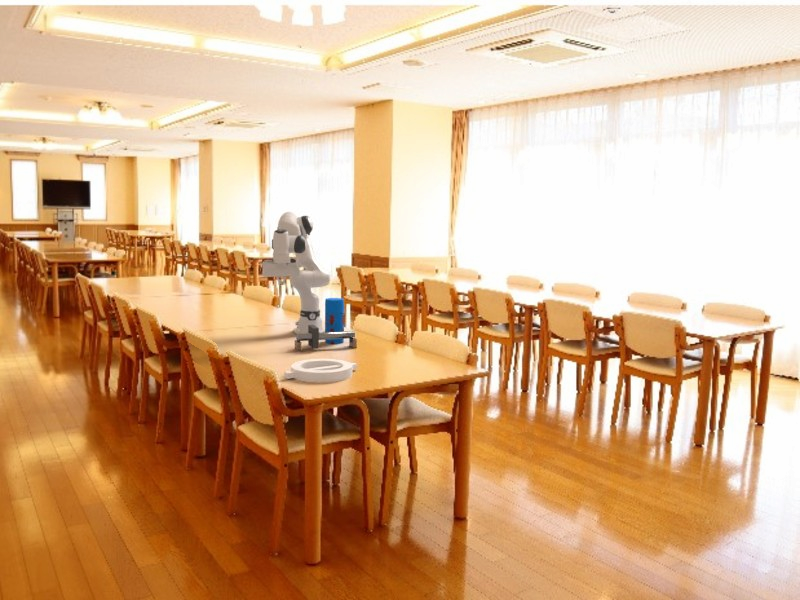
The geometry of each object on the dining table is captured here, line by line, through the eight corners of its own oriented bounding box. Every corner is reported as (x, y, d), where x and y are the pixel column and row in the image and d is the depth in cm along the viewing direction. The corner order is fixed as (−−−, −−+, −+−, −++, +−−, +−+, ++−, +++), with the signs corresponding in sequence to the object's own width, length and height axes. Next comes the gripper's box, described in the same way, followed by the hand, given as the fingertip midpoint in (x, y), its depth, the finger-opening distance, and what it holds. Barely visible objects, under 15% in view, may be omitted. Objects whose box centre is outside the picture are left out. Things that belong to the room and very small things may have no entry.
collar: (308, 344, 367) (308, 325, 366) (313, 344, 368) (313, 324, 367) (313, 348, 357) (313, 328, 355) (318, 348, 358) (318, 328, 357)
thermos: (340, 344, 377) (340, 300, 374) (322, 343, 379) (322, 299, 376) (346, 341, 388) (346, 298, 385) (328, 340, 390) (328, 297, 387)
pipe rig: (294, 349, 362) (294, 332, 361) (352, 345, 375) (352, 329, 373) (297, 351, 356) (297, 334, 355) (356, 348, 368) (356, 331, 367)
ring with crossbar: (282, 381, 295) (282, 370, 295) (302, 366, 323) (302, 357, 322) (343, 385, 290) (343, 374, 290) (358, 370, 318) (358, 360, 317)
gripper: (263, 260, 357) (263, 285, 359) (300, 259, 365) (300, 284, 367) (260, 259, 363) (261, 284, 365) (297, 259, 371) (298, 283, 372)
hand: (281, 284), depth 366 cm, fingers closed
